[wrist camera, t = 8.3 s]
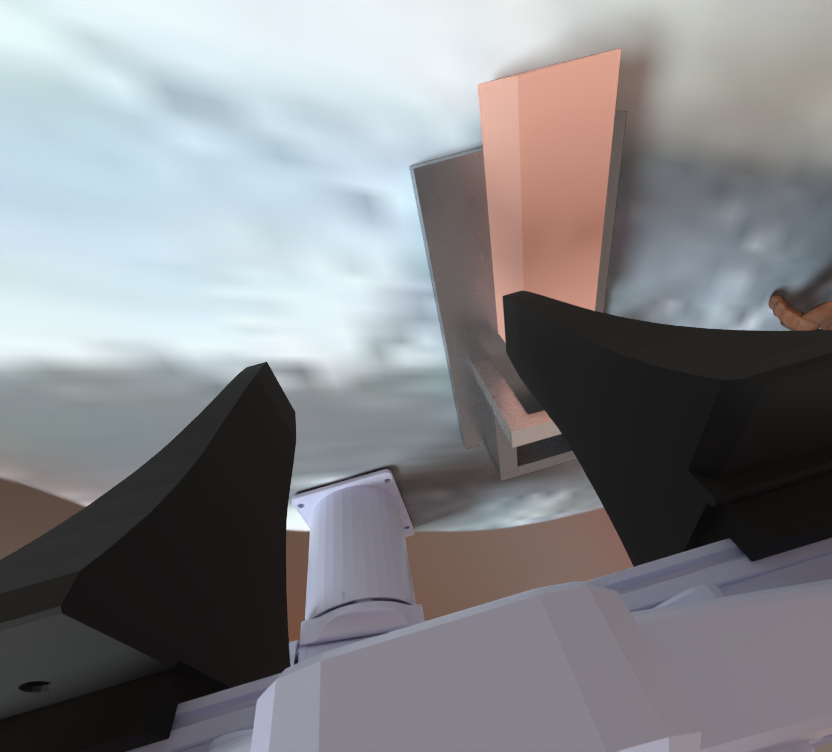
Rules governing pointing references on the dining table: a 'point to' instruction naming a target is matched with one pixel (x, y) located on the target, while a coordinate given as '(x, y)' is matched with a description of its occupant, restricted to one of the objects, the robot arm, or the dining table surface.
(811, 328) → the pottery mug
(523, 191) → the copper rectangular block
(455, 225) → the dispenser
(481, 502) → the dining table surface
